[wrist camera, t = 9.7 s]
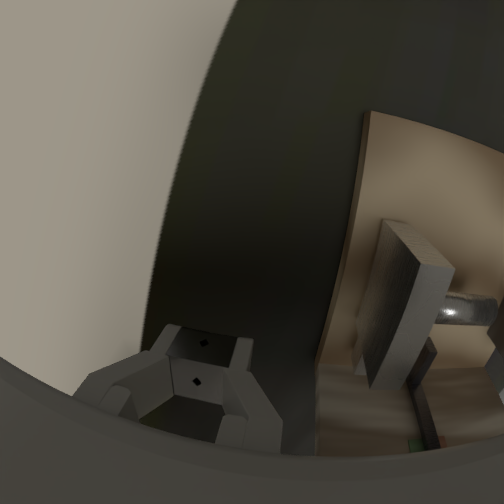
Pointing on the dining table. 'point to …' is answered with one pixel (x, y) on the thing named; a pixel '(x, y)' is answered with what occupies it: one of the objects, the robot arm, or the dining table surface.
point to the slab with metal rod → (408, 306)
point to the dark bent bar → (423, 396)
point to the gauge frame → (464, 281)
